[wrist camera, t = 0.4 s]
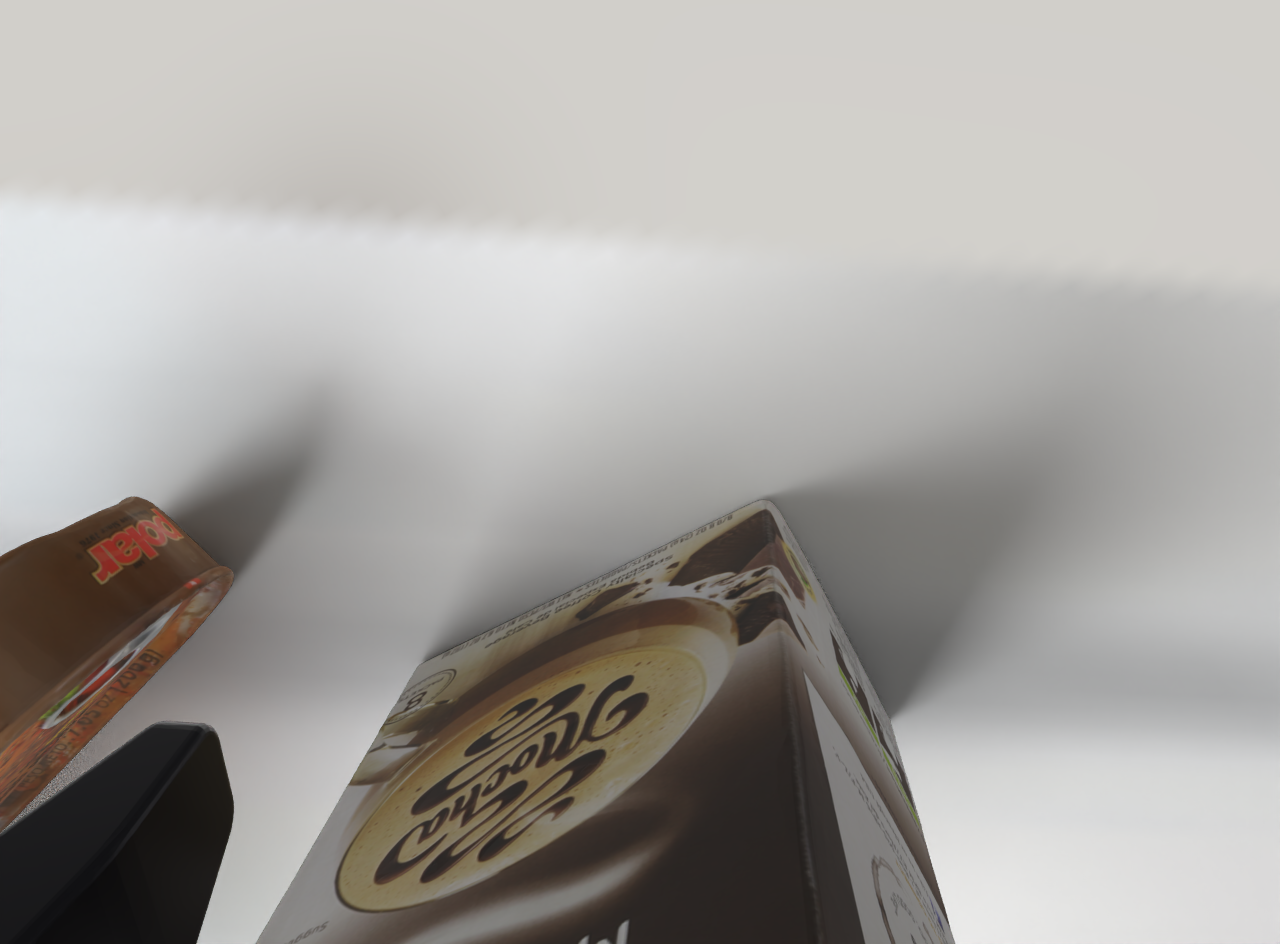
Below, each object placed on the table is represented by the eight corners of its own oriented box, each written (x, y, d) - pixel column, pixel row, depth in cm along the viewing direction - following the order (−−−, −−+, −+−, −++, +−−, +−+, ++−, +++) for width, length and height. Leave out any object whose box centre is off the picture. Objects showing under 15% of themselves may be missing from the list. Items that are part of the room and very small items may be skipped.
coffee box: (766, 481, 24) (874, 1085, 8) (896, 727, 25) (1201, 1647, 10) (404, 660, 25) (-81, 1448, 10) (544, 882, 27) (313, 1885, 11)
